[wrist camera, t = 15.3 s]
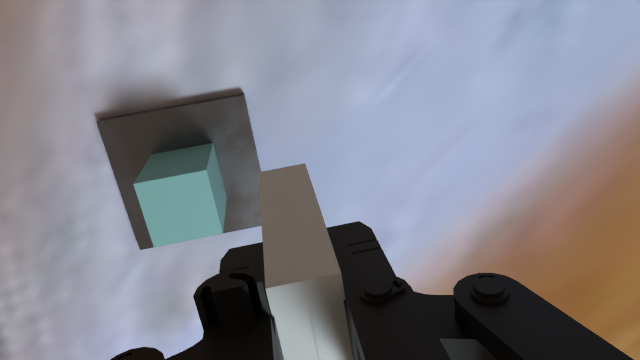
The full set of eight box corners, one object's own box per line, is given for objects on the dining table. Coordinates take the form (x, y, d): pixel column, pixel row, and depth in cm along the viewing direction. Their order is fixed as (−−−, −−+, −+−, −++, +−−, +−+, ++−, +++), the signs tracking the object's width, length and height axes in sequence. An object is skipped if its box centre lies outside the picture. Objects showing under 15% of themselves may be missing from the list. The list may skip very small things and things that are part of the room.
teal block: (151, 154, 40) (133, 183, 34) (213, 142, 41) (206, 170, 34) (168, 209, 42) (153, 247, 36) (226, 198, 43) (222, 233, 36)
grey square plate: (99, 119, 39) (73, 141, 34) (244, 93, 40) (243, 110, 35) (141, 245, 44) (125, 283, 38) (271, 219, 45) (274, 253, 39)
